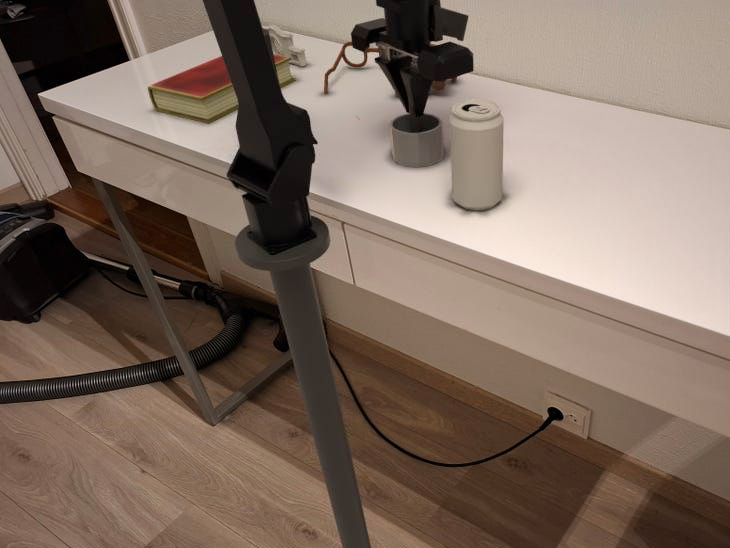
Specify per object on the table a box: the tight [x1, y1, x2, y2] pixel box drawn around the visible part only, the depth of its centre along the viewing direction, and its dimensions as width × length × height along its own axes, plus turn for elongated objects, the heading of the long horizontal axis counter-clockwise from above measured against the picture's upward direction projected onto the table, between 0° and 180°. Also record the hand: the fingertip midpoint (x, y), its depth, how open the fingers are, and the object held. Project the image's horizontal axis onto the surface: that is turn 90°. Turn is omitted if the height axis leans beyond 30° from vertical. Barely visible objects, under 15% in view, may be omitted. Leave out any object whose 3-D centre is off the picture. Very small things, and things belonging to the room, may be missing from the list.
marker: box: [407, 94, 422, 133], centre depth 92 cm, size 2×2×9 cm
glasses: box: [323, 41, 398, 98], centre depth 116 cm, size 13×13×5 cm
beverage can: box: [448, 98, 505, 211], centre depth 82 cm, size 6×6×12 cm
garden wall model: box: [262, 24, 307, 67], centre depth 125 cm, size 12×2×6 cm, turn 50°
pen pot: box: [388, 112, 445, 168], centre depth 94 cm, size 7×7×5 cm
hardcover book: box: [147, 54, 296, 124], centre depth 113 cm, size 12×21×4 cm, turn 152°
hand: (415, 114), depth 92 cm, fingers closed on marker, 1 cm apart
